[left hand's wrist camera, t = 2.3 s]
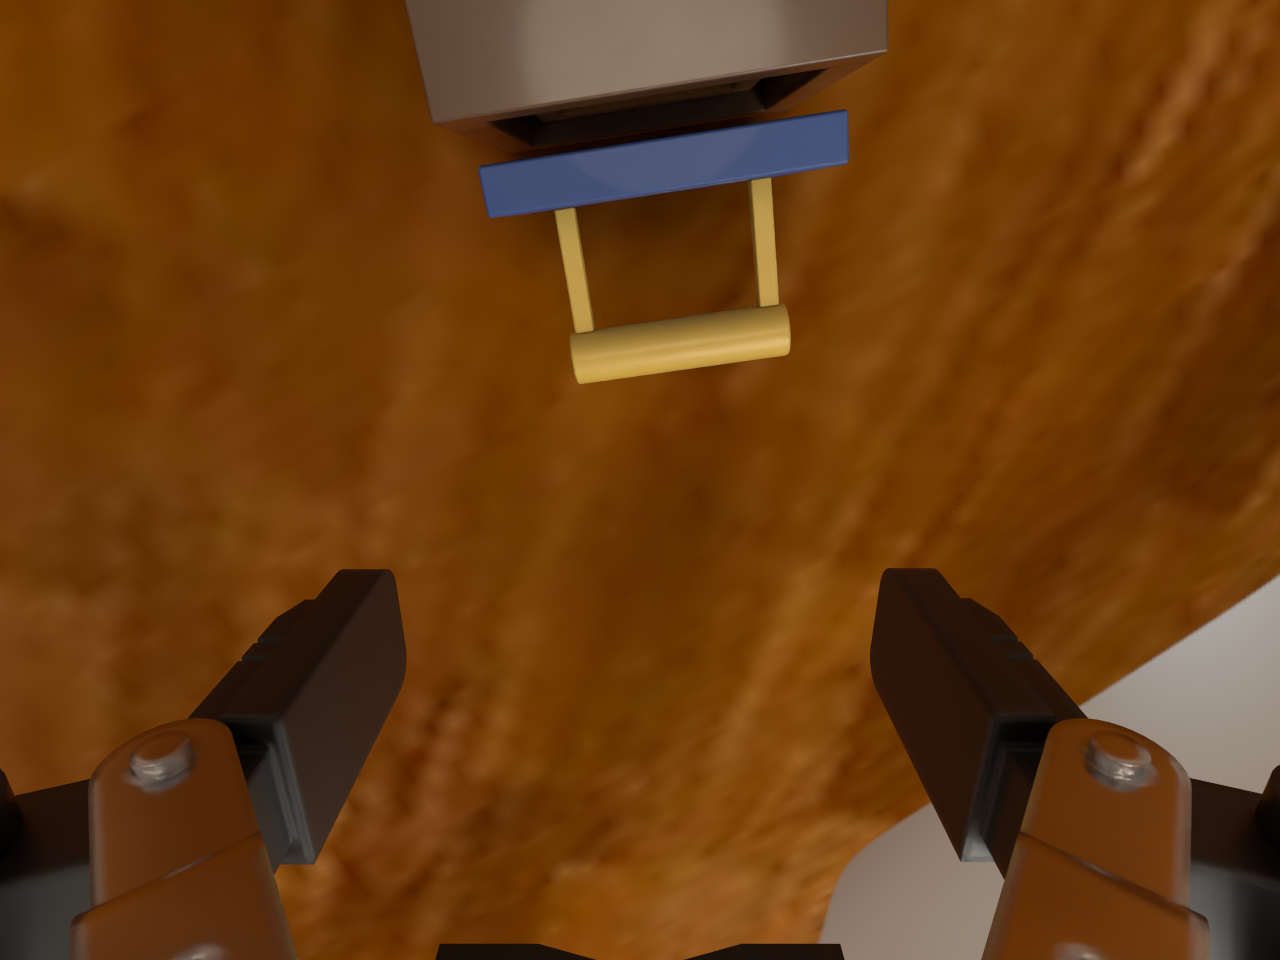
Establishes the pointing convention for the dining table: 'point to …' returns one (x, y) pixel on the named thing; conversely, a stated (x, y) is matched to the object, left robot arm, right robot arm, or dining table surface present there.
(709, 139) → the drawer
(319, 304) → the dining table surface
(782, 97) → the cabinet
